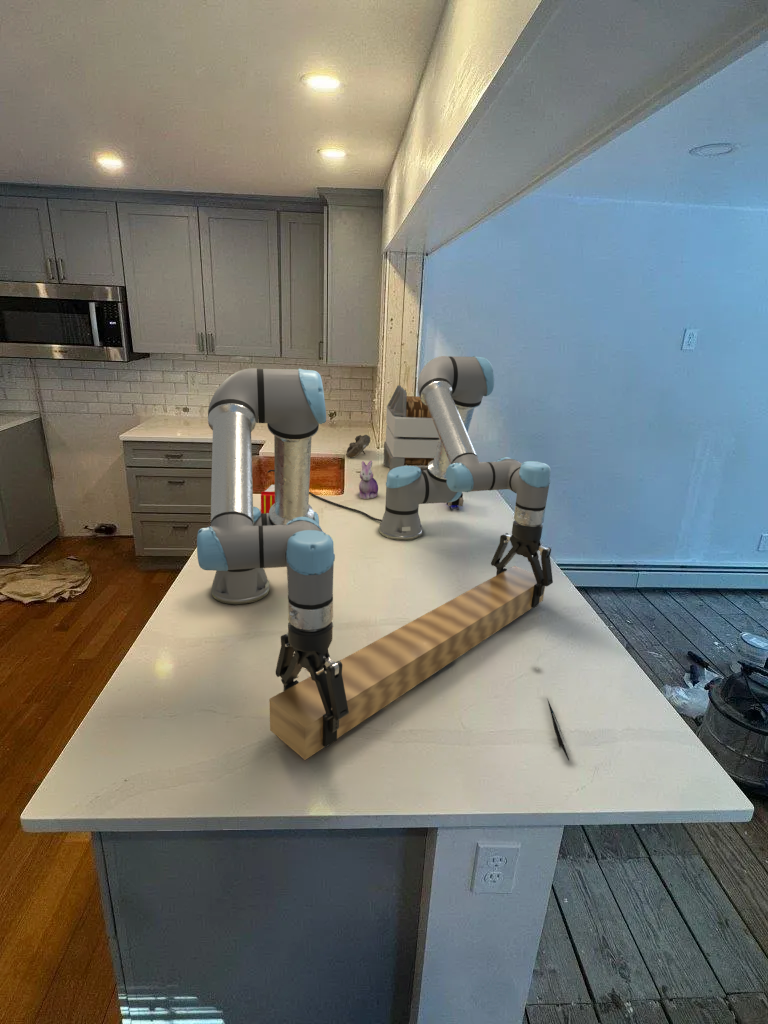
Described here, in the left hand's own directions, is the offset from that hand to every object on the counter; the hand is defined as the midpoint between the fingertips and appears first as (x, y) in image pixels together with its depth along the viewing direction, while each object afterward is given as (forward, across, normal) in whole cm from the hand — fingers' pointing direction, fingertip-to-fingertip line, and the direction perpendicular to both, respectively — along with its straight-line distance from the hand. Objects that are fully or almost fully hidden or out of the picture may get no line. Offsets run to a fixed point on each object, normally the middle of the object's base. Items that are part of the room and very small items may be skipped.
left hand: (310, 727), depth 104 cm
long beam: (+1, 0, +36) cm, 36 cm away
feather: (+2, +28, +39) cm, 48 cm away
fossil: (+4, -147, +155) cm, 214 cm away
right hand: (0, 0, +72) cm, 72 cm away
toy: (+3, -96, +65) cm, 116 cm away
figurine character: (+3, -62, +126) cm, 140 cm away
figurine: (+3, -93, +108) cm, 142 cm away
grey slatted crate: (+3, -102, +153) cm, 184 cm away
